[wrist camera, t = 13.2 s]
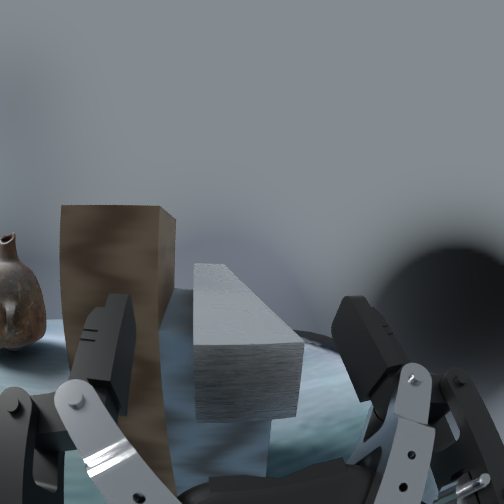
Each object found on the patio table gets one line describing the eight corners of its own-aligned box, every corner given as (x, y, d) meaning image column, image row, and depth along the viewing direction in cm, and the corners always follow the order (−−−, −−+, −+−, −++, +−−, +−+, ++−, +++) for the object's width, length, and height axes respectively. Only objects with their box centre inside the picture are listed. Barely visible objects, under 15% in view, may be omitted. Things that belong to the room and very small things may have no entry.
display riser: (121, 523, 18) (61, 205, 16) (135, 443, 33) (118, 218, 32) (259, 525, 21) (284, 211, 19) (236, 445, 36) (244, 222, 35)
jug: (-31, 346, 45) (-42, 232, 44) (23, 331, 66) (17, 232, 64) (4, 379, 39) (-14, 232, 37) (69, 353, 60) (61, 233, 58)
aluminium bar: (196, 423, 9) (193, 344, 8) (193, 288, 34) (194, 263, 34) (295, 416, 9) (304, 341, 9) (223, 289, 35) (223, 264, 35)
